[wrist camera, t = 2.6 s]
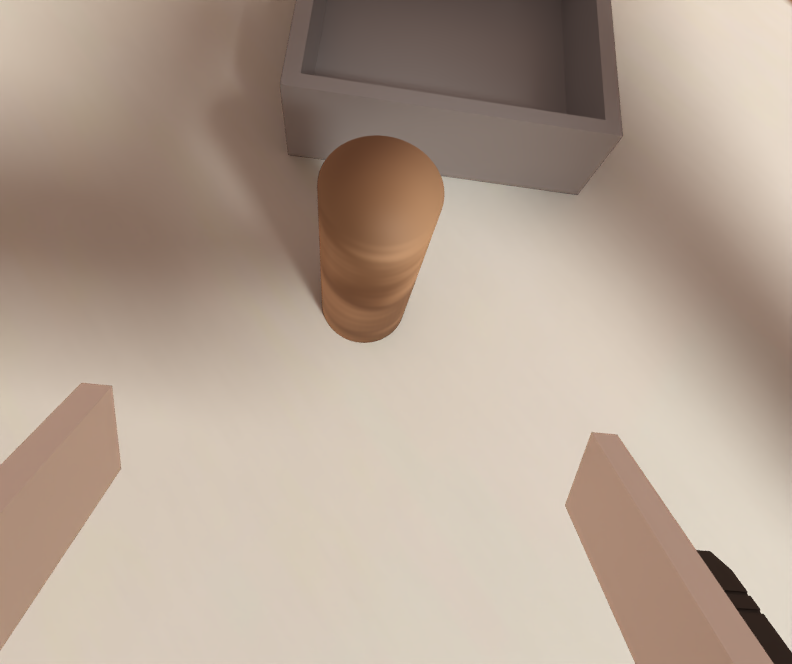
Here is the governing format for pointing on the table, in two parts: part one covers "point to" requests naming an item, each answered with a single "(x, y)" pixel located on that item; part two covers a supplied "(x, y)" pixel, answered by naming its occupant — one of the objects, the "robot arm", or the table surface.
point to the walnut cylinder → (374, 232)
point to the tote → (459, 84)
